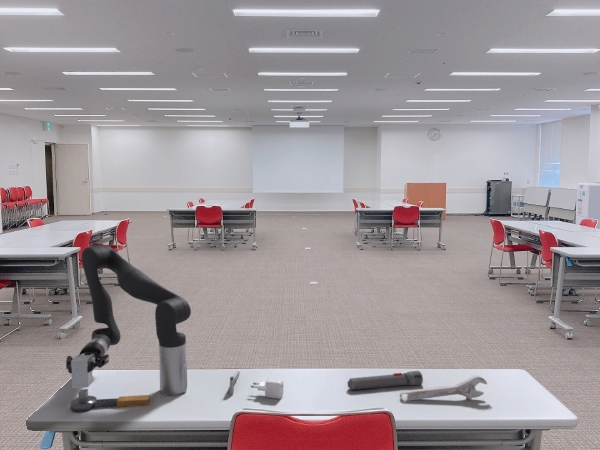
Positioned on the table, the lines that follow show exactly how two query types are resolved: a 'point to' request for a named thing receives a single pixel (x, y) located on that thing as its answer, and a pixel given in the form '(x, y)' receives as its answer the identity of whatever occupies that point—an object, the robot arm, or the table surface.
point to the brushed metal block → (81, 371)
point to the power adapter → (271, 388)
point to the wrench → (447, 390)
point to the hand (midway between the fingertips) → (79, 370)
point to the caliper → (233, 382)
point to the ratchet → (105, 401)
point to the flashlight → (386, 380)
